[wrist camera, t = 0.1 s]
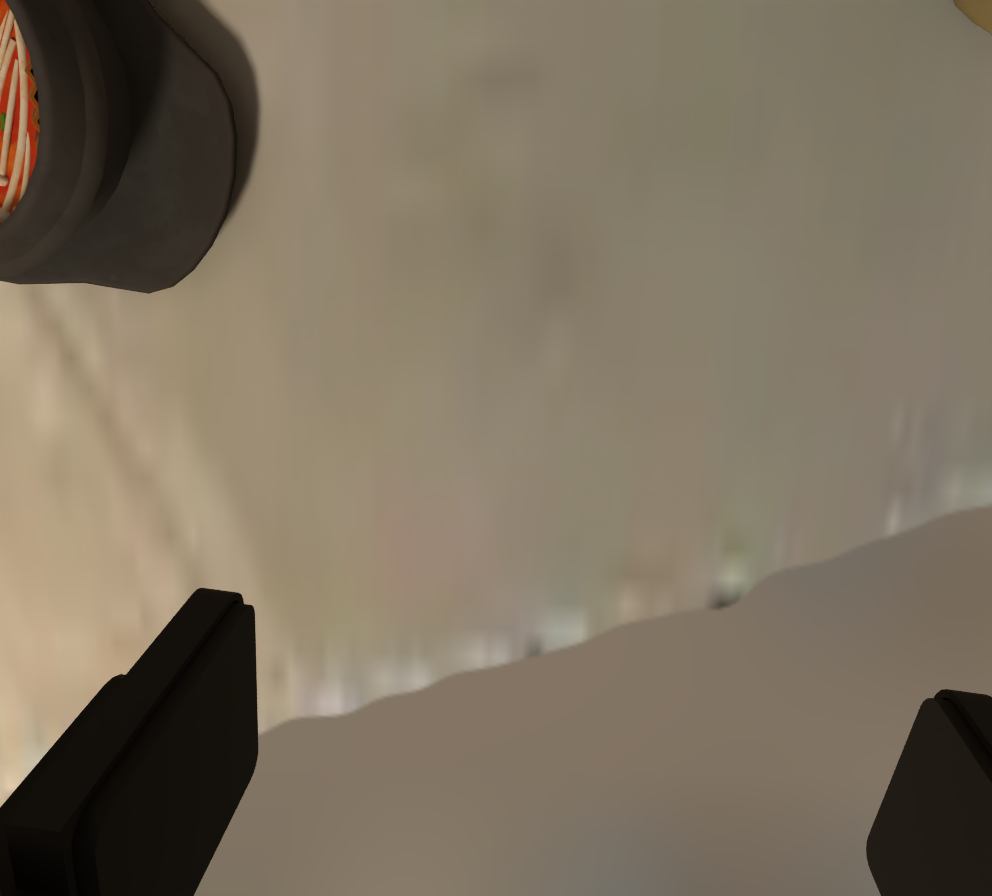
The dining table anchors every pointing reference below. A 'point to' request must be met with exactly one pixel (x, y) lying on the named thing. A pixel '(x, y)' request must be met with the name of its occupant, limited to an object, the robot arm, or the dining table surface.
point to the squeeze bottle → (977, 12)
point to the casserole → (108, 146)
